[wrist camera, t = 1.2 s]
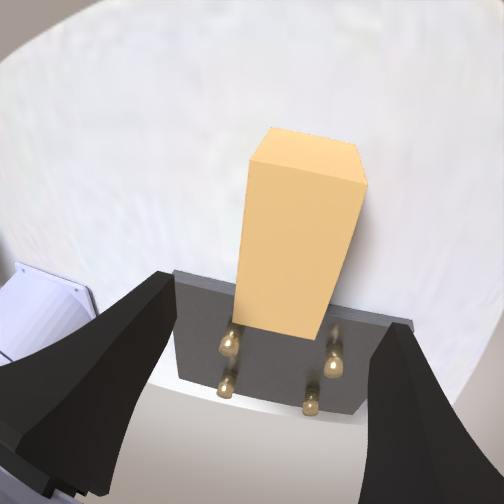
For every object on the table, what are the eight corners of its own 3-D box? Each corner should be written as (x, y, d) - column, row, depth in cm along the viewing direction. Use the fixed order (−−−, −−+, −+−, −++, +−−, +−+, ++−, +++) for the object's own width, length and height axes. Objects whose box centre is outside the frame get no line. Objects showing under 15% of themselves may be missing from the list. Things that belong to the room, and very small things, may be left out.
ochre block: (253, 260, 19) (231, 322, 15) (272, 126, 15) (249, 159, 11) (319, 274, 19) (314, 340, 15) (355, 143, 14) (367, 184, 10)
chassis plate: (182, 369, 28) (171, 396, 26) (174, 269, 21) (155, 300, 18) (352, 405, 26) (351, 434, 24) (412, 320, 19) (418, 355, 17)
